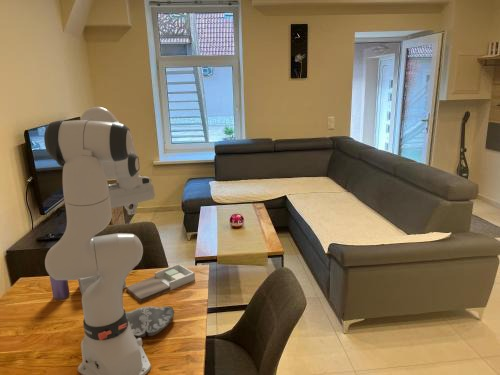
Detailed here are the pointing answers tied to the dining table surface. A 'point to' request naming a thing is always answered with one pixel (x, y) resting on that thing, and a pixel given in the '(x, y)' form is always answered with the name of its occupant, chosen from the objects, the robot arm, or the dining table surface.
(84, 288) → the supplement box
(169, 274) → the sage tile
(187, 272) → the grey tray
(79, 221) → the robot arm
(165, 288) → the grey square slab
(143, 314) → the brain slice
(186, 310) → the dining table surface
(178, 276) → the cream tile
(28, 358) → the dining table surface
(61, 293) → the beverage can
